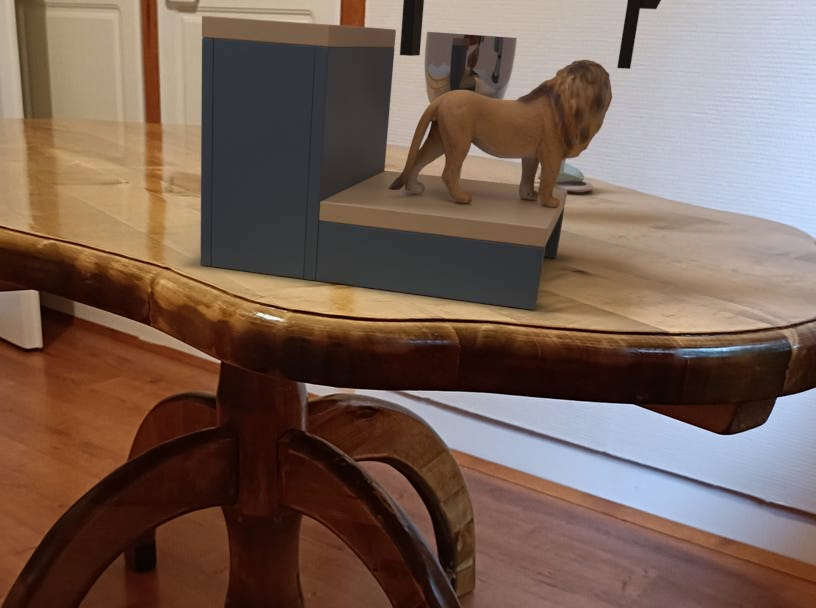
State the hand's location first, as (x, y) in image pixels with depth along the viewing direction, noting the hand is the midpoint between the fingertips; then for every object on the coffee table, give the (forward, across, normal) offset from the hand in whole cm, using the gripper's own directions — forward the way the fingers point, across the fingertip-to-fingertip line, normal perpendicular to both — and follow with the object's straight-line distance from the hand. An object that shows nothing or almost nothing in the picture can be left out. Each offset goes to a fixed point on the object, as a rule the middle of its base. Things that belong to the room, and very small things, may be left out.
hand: (513, 62), depth 61 cm
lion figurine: (+9, 0, 0) cm, 9 cm away
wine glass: (+14, -7, +25) cm, 29 cm away
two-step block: (+14, -7, 0) cm, 15 cm away
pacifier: (+14, +2, +46) cm, 48 cm away
